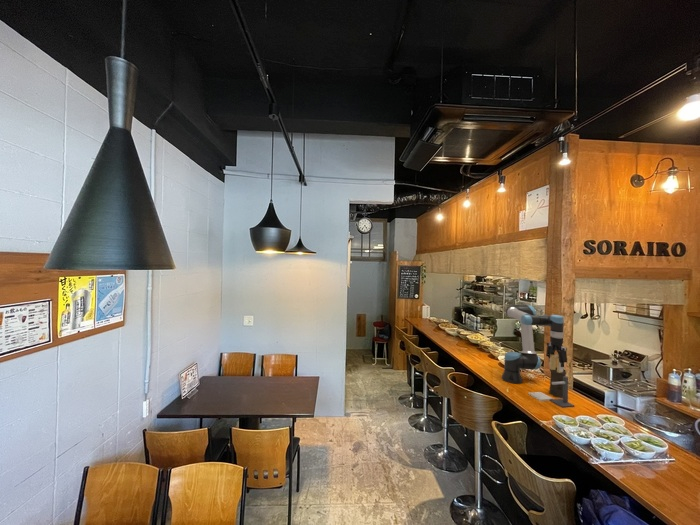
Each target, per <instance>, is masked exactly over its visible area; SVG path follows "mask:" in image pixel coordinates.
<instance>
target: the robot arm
mask: <svg viewBox="0 0 700 525" xmlns="http://www.w3.org/2000/svg"><path fill="white" fill-rule="evenodd" d="M505 314H506V316H507V317H508V318H511V319H516V320H517V321H518V322H519V323H520V334H521V343H522V344H521V346H522V351H521V352H517V351H507V352H505V354H504V357H503V358H504V368H503V369H504V370H503V372H502V376H501V379H502V380H503V381H504V382H507V383H510V384H515V385H516V384H519V385H520V384H522V383H523V377H522V374H521V369H522V370H531V371H533V370H536V371H537V370H539V369H540V367H541V365H542V364H541V362H542V360H541V358H540V356H539V355H538V354H537V352H536V351H535V343H534V341H535V340H534V332H533V326H541V327H543V326H544V327H550V330H549V331H550V334H549V335H550V337H549V340H550V341H549V342H547V343H546V345H547V347H546V354H545V355H546V357H548V363H549V367H548V368H550V354H555V353H556V352H557V355H559V359H560V362H559V371H560V372H563V369H564V367H565V363H568V355H567V354H568V353H567V351H568V349H567V347H564V346H563V344H564V327H565V326H564V321H565V320H564V315H559V314H551V315H548V314H543V315H542V314H541V315H539V314H538V315H537V312H536V309H535V308H534V306H533V305H529V304H510V305H508V306H506V308H505Z"/></svg>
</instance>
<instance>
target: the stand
mask: <svg viewBox="0 0 700 525" xmlns="http://www.w3.org/2000/svg"><path fill="white" fill-rule="evenodd" d="M551 383H552V385H557V384H563V398H553V399H550V401H549V402H551V403H552V404H554V405H557V406H558V407H560V408H562V409H563V408H574V407H575V404H573V403H571V402H569V377H568V376H567V375H566V376H563V381H560V382H551Z"/></svg>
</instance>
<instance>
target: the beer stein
mask: <svg viewBox="0 0 700 525" xmlns="http://www.w3.org/2000/svg"><path fill="white" fill-rule="evenodd" d="M549 371H550V382H549V384H550V385H549V391H548V393H549V394H550V395H551V396H552V397H553V396H554V397H557V398H559V399H563V384H557V385H552V383H551V382H560V381H563V376H566V377H567V371H566V369H564V368H563V372H562V373H558V372H557V366H556V370H551V369H550V368H549Z"/></svg>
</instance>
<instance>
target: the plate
mask: <svg viewBox="0 0 700 525" xmlns="http://www.w3.org/2000/svg"><path fill="white" fill-rule="evenodd" d="M528 394H529V395H528ZM527 395H528V396H530V395H531V397H532V398H534V399H535V398H536V400H537V399H538V400H537V401H538V402H546V401H547V402H551V401H550V399H554V398H553V397H551V396H549V395H547V394H546V393H543V392H542V391H535V392H528V393H527Z"/></svg>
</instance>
